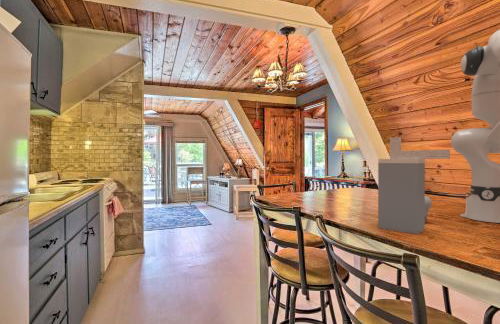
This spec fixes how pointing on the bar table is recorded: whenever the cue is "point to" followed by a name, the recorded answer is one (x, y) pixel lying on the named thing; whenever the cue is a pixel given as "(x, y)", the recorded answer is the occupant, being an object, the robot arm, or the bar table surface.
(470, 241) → the bar table surface
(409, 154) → the block
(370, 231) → the bar table surface
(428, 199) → the lightbulb
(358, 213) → the bar table surface
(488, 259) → the bar table surface
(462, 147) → the robot arm
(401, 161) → the stand
